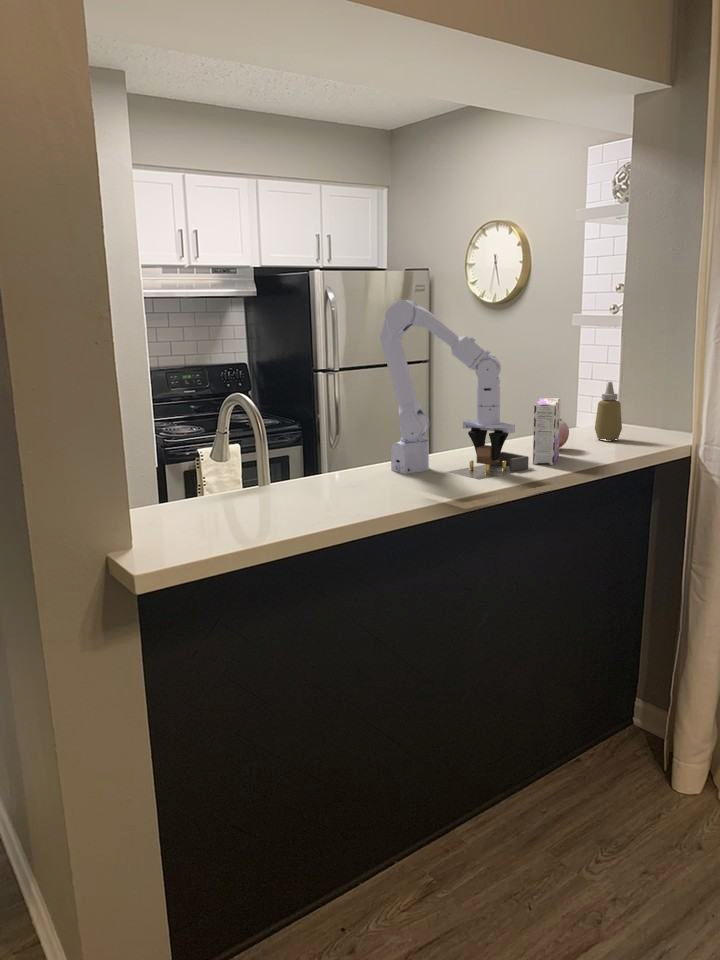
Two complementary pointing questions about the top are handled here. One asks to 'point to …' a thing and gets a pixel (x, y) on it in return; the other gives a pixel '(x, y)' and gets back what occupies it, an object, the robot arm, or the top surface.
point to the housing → (513, 461)
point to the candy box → (546, 431)
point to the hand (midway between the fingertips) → (488, 458)
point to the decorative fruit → (563, 433)
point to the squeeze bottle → (608, 415)
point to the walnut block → (485, 455)
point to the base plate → (486, 470)
